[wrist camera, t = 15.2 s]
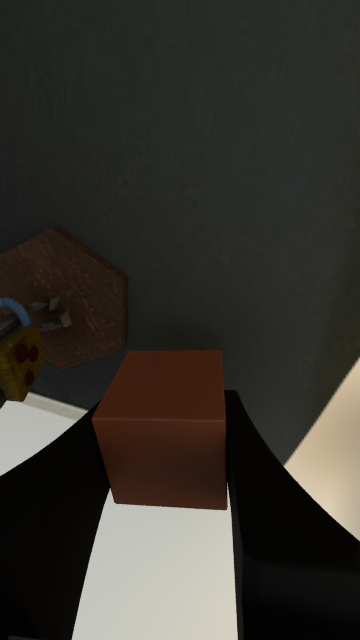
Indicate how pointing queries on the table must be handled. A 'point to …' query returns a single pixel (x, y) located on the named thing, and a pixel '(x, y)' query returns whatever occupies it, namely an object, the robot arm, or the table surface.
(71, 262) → the robot figurine
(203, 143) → the table surface
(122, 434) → the block
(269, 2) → the table surface
